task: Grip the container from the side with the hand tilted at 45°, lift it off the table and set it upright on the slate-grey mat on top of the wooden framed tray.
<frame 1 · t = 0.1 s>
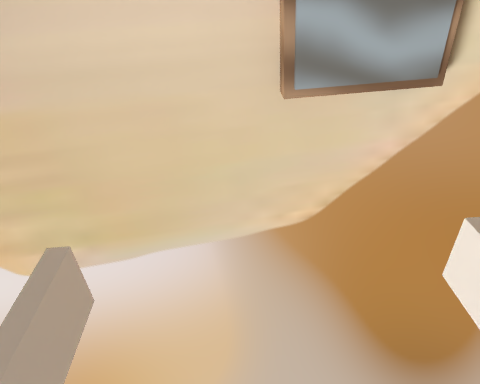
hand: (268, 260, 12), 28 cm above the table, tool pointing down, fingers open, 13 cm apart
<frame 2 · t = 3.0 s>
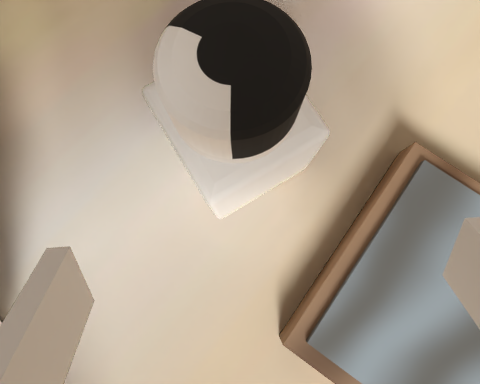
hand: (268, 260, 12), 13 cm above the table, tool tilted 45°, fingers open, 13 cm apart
container: (236, 152, 26), on the table
wooden framed tray: (452, 316, 24), on the table
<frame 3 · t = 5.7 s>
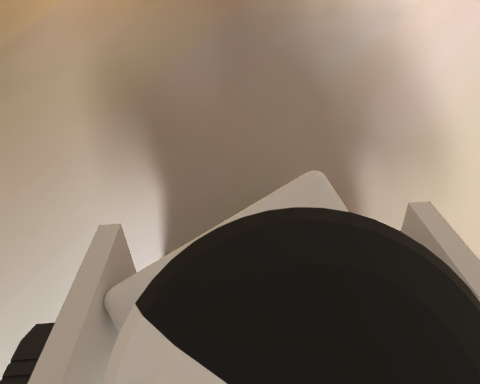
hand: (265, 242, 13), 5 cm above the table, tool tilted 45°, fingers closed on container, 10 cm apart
container: (263, 306, 17), on the table, touching gripper
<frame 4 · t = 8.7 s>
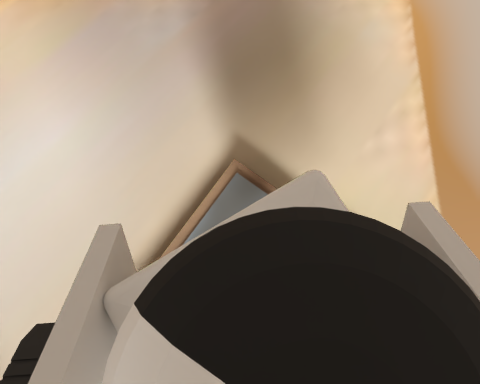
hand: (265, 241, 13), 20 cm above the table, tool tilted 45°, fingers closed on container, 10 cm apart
container: (263, 306, 17), point 15 cm above the table, touching gripper
wooden framed tray: (262, 291, 32), on the table
when the fingers open (9 cm above the table, at t = 11.7 s): container drops 1 cm, resting on wooden framed tray.
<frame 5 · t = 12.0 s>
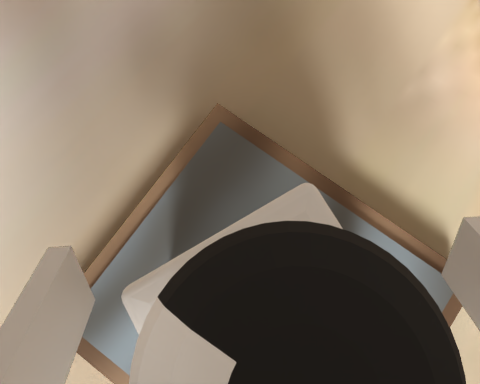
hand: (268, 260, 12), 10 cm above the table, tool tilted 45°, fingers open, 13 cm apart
container: (262, 304, 19), point 3 cm above the table, touching wooden framed tray
wooden framed tray: (259, 297, 22), on the table
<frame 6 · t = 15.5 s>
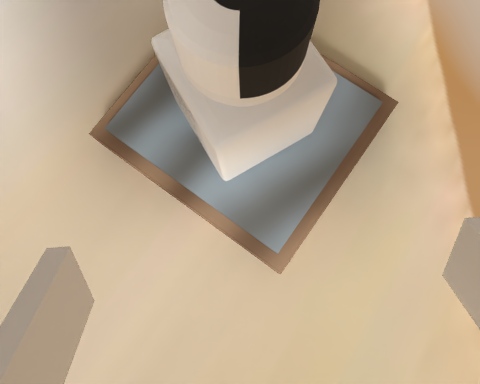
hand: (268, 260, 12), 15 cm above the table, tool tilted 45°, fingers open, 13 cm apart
container: (243, 117, 27), point 3 cm above the table, touching wooden framed tray
wooden framed tray: (244, 129, 29), on the table
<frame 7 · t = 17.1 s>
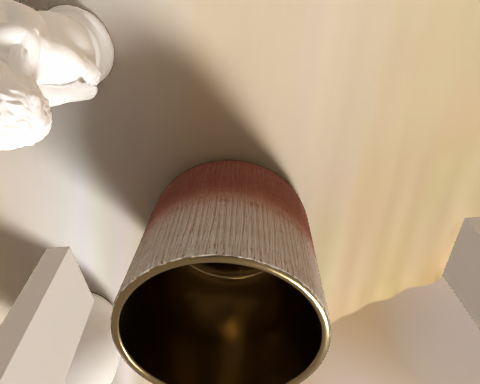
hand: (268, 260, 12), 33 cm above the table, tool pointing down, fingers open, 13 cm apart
cherub figurine: (64, 52, 40), on the table
planter: (230, 223, 52), on the table
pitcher: (91, 324, 64), on the table
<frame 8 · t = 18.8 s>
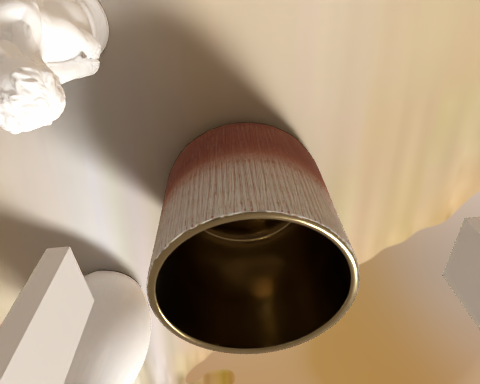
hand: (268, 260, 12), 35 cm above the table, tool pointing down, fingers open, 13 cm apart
cherub figurine: (56, 29, 39), on the table
planter: (243, 186, 52), on the table
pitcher: (117, 302, 66), on the table
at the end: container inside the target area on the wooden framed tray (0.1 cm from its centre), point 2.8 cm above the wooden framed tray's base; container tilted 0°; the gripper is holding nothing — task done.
